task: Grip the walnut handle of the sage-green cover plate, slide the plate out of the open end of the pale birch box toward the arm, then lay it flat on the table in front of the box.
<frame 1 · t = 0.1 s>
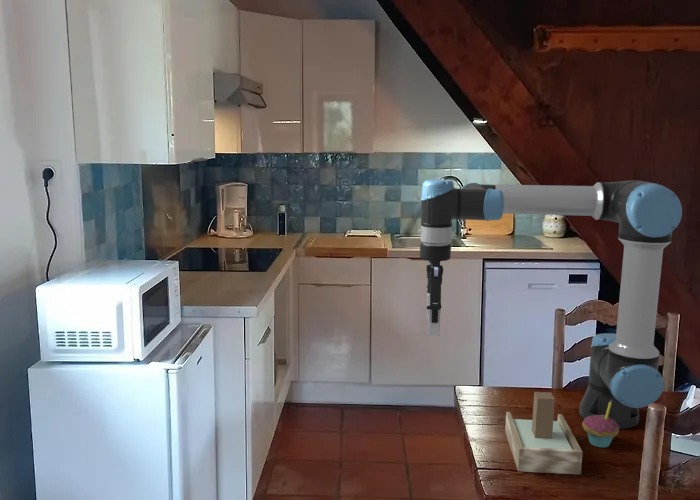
hand: (432, 326, 166), 28 cm above the table, fingers open, 13 cm apart
birch box: (540, 451, 161), on the table
cupcake: (598, 444, 166), on the table
cover plate: (541, 440, 161), point 3 cm above the table, touching birch box
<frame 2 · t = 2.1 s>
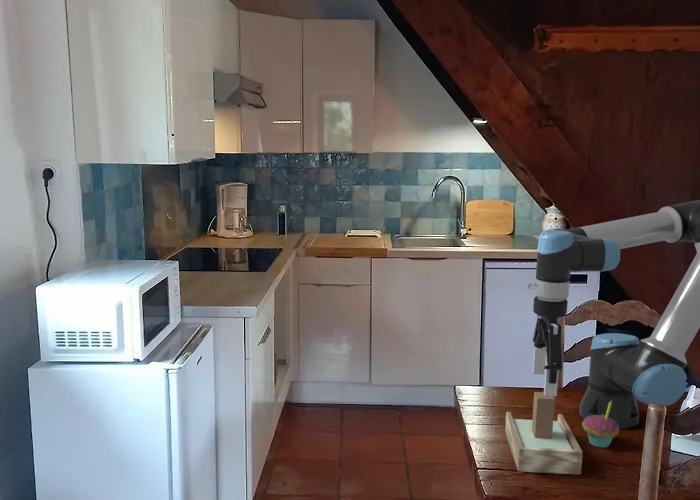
hand: (544, 384, 158), 17 cm above the table, fingers open, 13 cm apart
nothing on the table moved.
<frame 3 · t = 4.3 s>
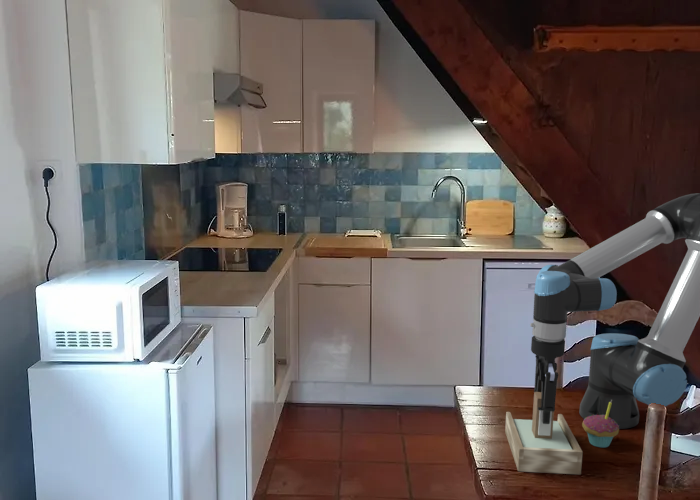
hand: (542, 430, 160), 6 cm above the table, fingers closed on cover plate, 4 cm apart
cover plate: (541, 440, 161), point 3 cm above the table, touching birch box, gripper
everything else where it was.
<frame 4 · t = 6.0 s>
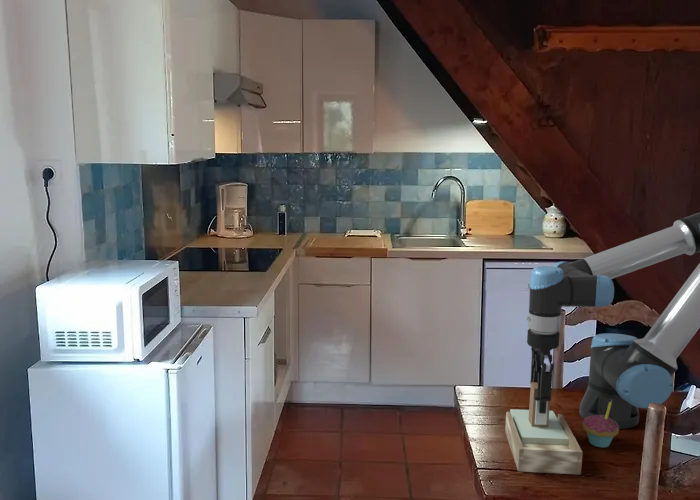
hand: (538, 419, 166), 6 cm above the table, fingers closed on cover plate, 4 cm apart
cover plate: (537, 429, 166), point 3 cm above the table, touching gripper
everything else where it was.
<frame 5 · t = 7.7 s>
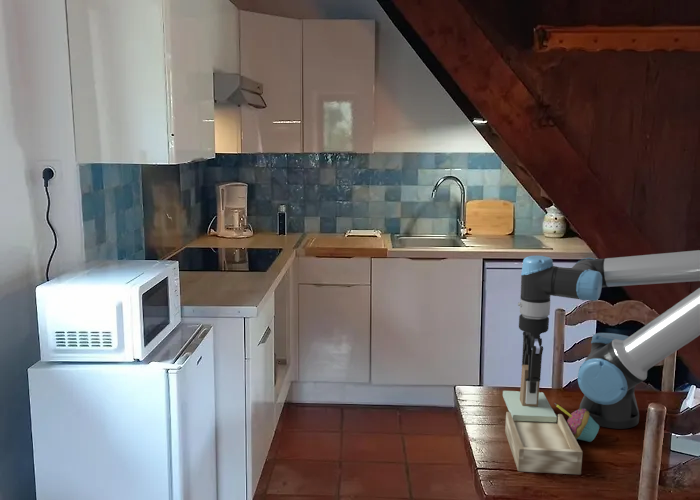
hand: (529, 399, 177), 6 cm above the table, fingers closed on cover plate, 4 cm apart
cupcake: (595, 434, 166), point 2 cm above the table, touching birch box
cover plate: (528, 408, 178), point 3 cm above the table, touching gripper
when the fingers open (4 cm above the table, at t = 9.9 s): cover plate drops 2 cm, on the table.
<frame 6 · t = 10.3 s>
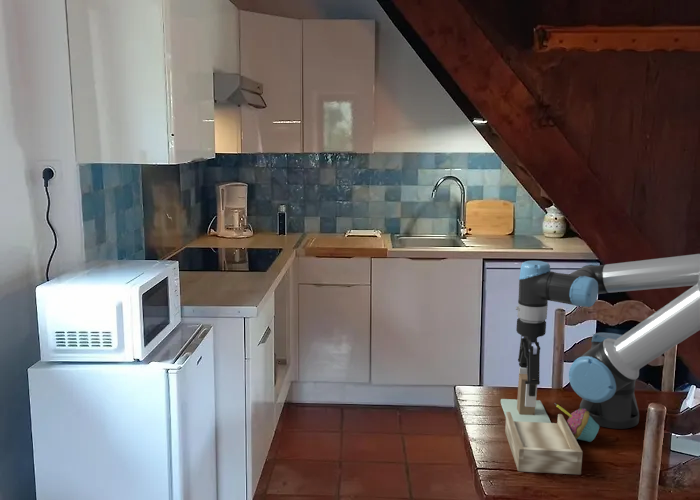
hand: (526, 398, 180), 5 cm above the table, fingers open, 10 cm apart
cover plate: (525, 416, 181), on the table
everything else where it was.
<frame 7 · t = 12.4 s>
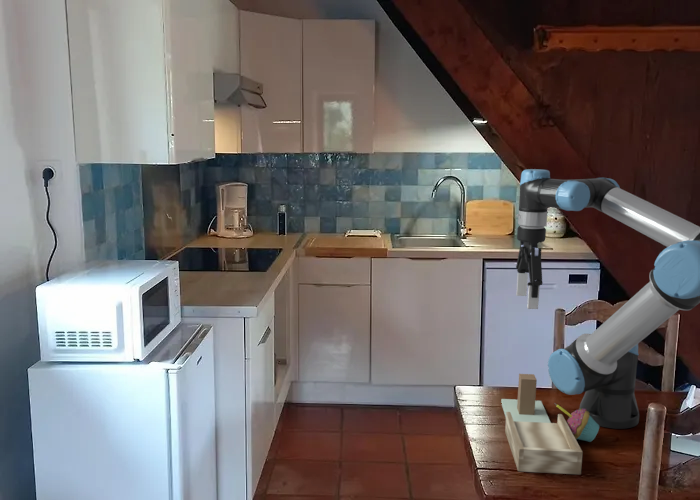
hand: (526, 302, 185), 29 cm above the table, fingers open, 13 cm apart
nothing on the table moved.
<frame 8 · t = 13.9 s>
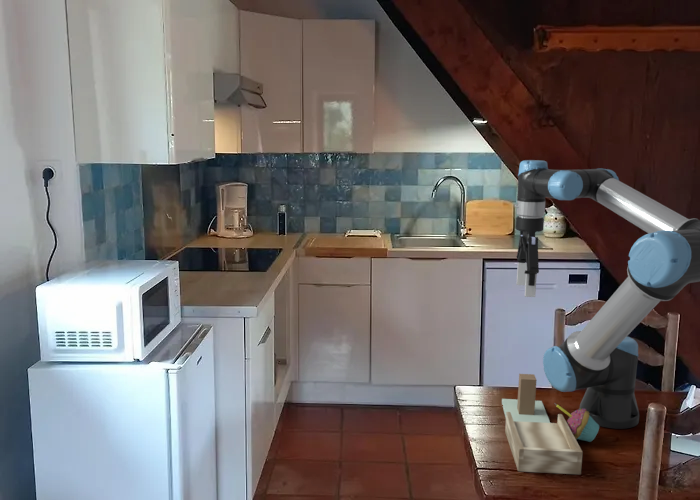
hand: (525, 290, 188), 32 cm above the table, fingers open, 13 cm apart
nothing on the table moved.
at the end: cover plate inside the target area (0.0 cm from its centre), on the table; cover plate tilted 0°; the gripper is holding nothing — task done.
